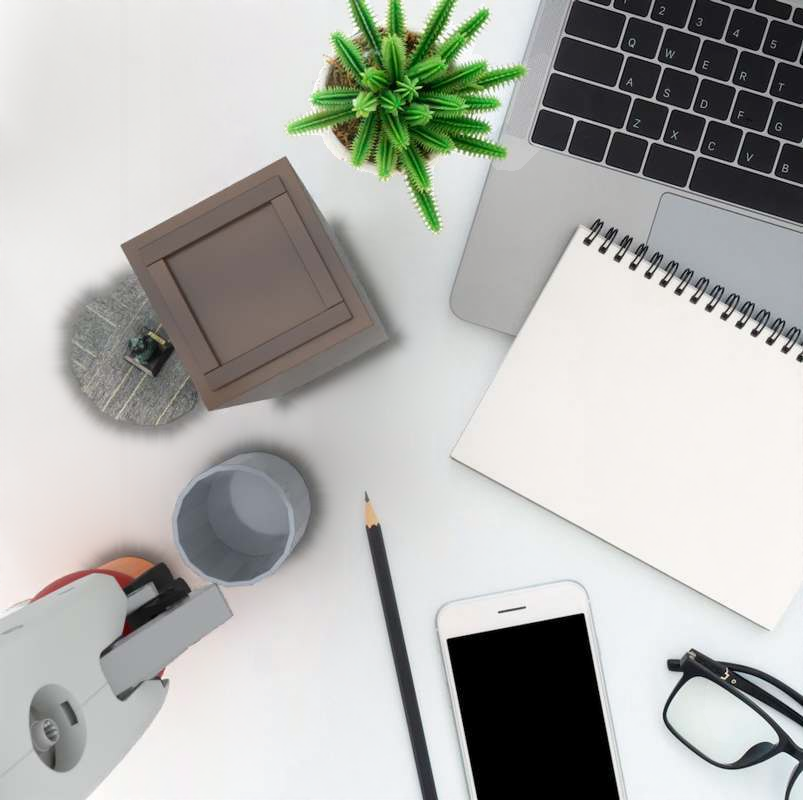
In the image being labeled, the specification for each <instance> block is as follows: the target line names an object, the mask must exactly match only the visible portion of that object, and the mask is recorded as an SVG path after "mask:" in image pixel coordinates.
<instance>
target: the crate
mask: <svg viewBox="0 0 803 800" xmlns="http://www.w3.org/2000/svg"><path fill="white" fill-rule="evenodd" d="M119 246H120V248H121V250H122V252H123V254H124V255H125V257H126V260H127V261H128V263H129V265H130V267H131V268H132V271H133V272H134V274H135V277H136V278H138V280H139V282H140V284H141V286H142V288H143V289H144V291H145V293H146V295H147V297H148V299H149V301H150V303H151V305H152V306H153V308H154V310H155V312H156V314H157V316H158V318H159V320H160V321H161V323H162V325H163V327H164V329H165V331H166V333H167V335H168V337H169V338H170V340H171V342H172V344H173V346H174V348H175V350H176V352H177V353H178V355H179V357H180V359H181V361H182V363H183V365H184V367H185V369H186V370H187V372H188V374H189V376H190V378H191V380H192V382H193V384H194V385H195V387H196V389H197V391H198V392H197V393H198V395H199V397H200V398H201V400H202V403H203V404H204V407H205V409H206V410H207V412H214V411H218V410H223V409H228V408H232V407H237V406H243V405H246V404H251V403H257V402H262V401H266V400H270V399H274V398H280V397H284V396H286V395H287V394H289V393H291V392H293V391H295V390H297V389H299V388H300V387H303V386H305V385H306V384H308V383H310V382H312V381H314V380H316V379H317V378H320V377H322V376H323V375H325V374H327V373H329V372H331V371H334V369H337V368H338V367H340V366H342V365H344V364H346V363H348V362H350V361H352V360H353V359H355V358H358V357H360V356H361V355H363V354H365V353H367V352H368V351H369V352H370V351H371V350H373V349H375V348H377V347H378V346H380V345H382V344H385V343H386V342H388V341H389V340H390V336H389V335H388V333H387V330H386V329H385V327H384V326H383V324H382V322H381V319H380V317H379V316H378V314H377V312H376V310H375V308H374V306H373V304H372V302H371V301H370V299H369V297H368V295H367V293H366V291H365V289H364V287H363V285H362V283H361V281H360V280H359V278H358V276H357V274H356V272H355V270H354V268H353V266H352V263H351V262H350V260H349V258H348V257H347V254H346V252H345V251H344V249H343V247H342V245H341V243H340V241H339V239H338V237H337V235H336V233H335V232H334V230H333V228H332V227H331V225H330V224H329V222H328V220H327V219H326V217H325V215H324V214H323V212H322V211H321V209H320V208H319V206H318V205H317V203H316V201H315V199H314V198H313V196H312V195H311V193H310V192H309V190H308V189H307V187H306V185H305V184H304V182H303V180H302V179H301V177H300V176H299V175H298V173H297V172H296V170H295V168H294V166H293V164H292V163H291V162H290V159H289V158H288V157H287V156H286V155H285V156H283V157H281V158H279V159H277V160H276V161H274V162H272V163H270V164H268V165H266V166H264V167H262V168H261V169H259V170H257V171H255V172H253V173H251V174H249V175H248V176H246V177H243V178H242V179H240V180H238V181H237V182H234V183H233V184H231V185H229V186H227V187H225V188H223V189H222V190H220V191H217V192H216V193H214V194H212V195H210V196H209V197H207V198H205V199H203V200H201V201H199V202H197V203H196V204H193V205H192V206H190V207H188V208H186V209H184V210H183V211H180V212H179V213H177V214H175V215H173V216H171V217H169V218H168V219H166V220H164V221H162V222H161V223H158V224H156V225H155V226H153V227H151V228H149V229H147V230H145V231H144V232H142V233H140V234H137V235H136V236H134V237H132V238H130V239H129V240H127V241H125V242H123V243H121V244H120V245H119Z"/></svg>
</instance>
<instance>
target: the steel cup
mask: <svg viewBox="0 0 803 800" xmlns="http://www.w3.org/2000/svg"><path fill="white" fill-rule="evenodd" d="M311 503H312V502H311V496H310V491H309V488H308V486H307V483H306V480H304V478H303V476H302V475H301V473H300V472H299V471H298V470H297V469H296V467H294V465H292V464H291V463H290V462H289V461H287V460H285V459H284V458H282V457H280V456H277V455H275V454H272V453H268V452H263V451H259V452H258V451H255V452H246V453H239V454H237V455H235V456H233V457H231V458H229V459H227V460H225V461H222V462H221V463H219V464H217V465H215V466H212V467H211V468H209V469H207V470H205V471H202V472H201V473H199V474H198V475H195V476H194V477H193V478H192V479H191V480H190V482H189V483H187V485H186V486H185V487H184V489H183V490H182V491H181V492H180V494H179V495H178V497H177V500H176V503H175V507H174V509H173V513H172V517H171V526H172V527H171V528H172V537H173V543H174V544H173V545H174V546H175V548H176V550H177V552H178V553H179V555H180V558H181V559H182V561H183V563H184V564H185V566H186V567H188V568H189V569H190V570H191V571H192V572H194V573H195V574H196V575H197V576H198V577H200V578H201V579H202V580H204V581H206V582H208V583H211V584H213V583H217V584H218V586H222V587H225V588H238V587H248V586H253V585H256V584H257V583H259V582H261V581H263V580H266V579H267V578H270V577H271V576H272V575H274V574H275V573H276V571H278V569H280V567H281V565H282V564H283V563H284V562H285V561H286V560H287V558H288V557H289V556H290V554H291V553H292V551H293V550H294V548H295V547H296V546H297V544H298V543H299V541H300V540H301V538H302V537H303V536H304V534H305V532H306V530H307V526H308V523H309V522H310V521H309V520H310V517H311V510H312V509H311Z"/></svg>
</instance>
